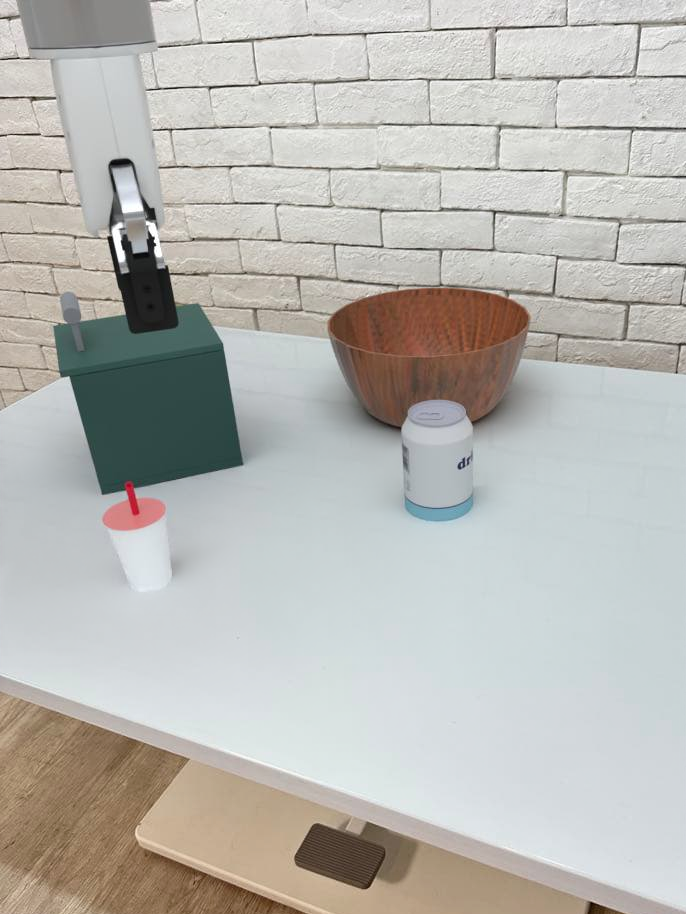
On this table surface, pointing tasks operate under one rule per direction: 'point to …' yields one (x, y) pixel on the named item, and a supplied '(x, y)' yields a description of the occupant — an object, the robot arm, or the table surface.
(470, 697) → the table surface
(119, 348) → the lid
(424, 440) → the beverage can
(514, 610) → the table surface
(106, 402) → the cooler
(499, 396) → the bowl
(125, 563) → the cup
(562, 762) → the table surface
